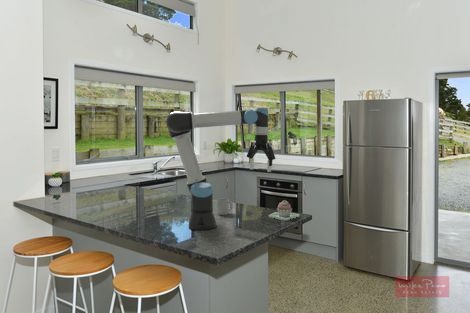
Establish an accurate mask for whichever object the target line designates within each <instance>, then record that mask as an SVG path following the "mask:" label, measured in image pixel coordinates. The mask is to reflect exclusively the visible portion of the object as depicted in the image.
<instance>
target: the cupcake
mask: <svg viewBox="0 0 470 313" xmlns="http://www.w3.org/2000/svg"><path fill="white" fill-rule="evenodd" d="M292 210H293V208H292V207H291V204H290V203H289V202H288V201H287V200H285V199H284V200H282V201H281V202H279V203H278V205H277V208H276V211H277V212H278V213H279V216H280V217H289V216H290V213H292Z"/></svg>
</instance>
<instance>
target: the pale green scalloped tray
mask: <svg viewBox="0 0 470 313" xmlns="http://www.w3.org/2000/svg"><path fill="white" fill-rule="evenodd" d="M296 217H297V218H299V217H300V214H298V213H295V212H294V213H293V212H291V213H290V216H289V217H280V216H279V213H278V211H275V212H272V213H271V214H270V213H269V214H268V218H270V219H274V218H275V219H276V220H280V221H285V222H288V221H290V219H291V220H294V219H297V218H296ZM293 218H294V219H293Z"/></svg>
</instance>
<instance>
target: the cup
mask: <svg viewBox="0 0 470 313" xmlns="http://www.w3.org/2000/svg"><path fill="white" fill-rule="evenodd" d="M233 209H234V204H233V201H231V200H229V198H218V199H216V213H217V215H220V216H226V215H229V213H230V212H231V211H233Z"/></svg>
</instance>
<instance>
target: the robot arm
mask: <svg viewBox="0 0 470 313" xmlns="http://www.w3.org/2000/svg"><path fill="white" fill-rule="evenodd" d="M165 125H166V128H167V129H168V133H169V135H170V139H172V140H174V142H175V144H176V148H177V151H178V154H179V157H180V160H181V162H182V166H183V169H184V172H185V174H186V178H187V181H186V186H187V190H188V192H189V193H188V194H189V196H190V199H191V200H190V201H191V203H190V204H191V205H190V206H191V207H190V208H191V214H190V217H189V221H188V228H189V229H191V230H194V231H195V230H196V231H207V230H213V229H215V228H216V227H217V220H216V217H215V215H214V208H213V207H214V206H213V205H214V202H213V195H214V194H213V192H214V189H213V185H212V184H211V183H209V182H208V181H207V177H206V176H204V175H203V174H202V170H201V167H200V164H199V162H198V159H197V155H196V153H195V149H194V146H193V143H192V140H191V137H190V135H191V133H192V131H193V130H194V129H199V128H200V129H201V128H211V127H225V126H236V125H237V126H239V125H254V134H255V135H254V141H252V142H251V143H250V147H249V149H248V152H247V153H246V157H247V158H248V159H249V160H248V164H249V170H254V169H255V168H254V167H255V158H254V157H255V156H256V154H257V153H258V152H259V151H263V153H264V154H265V156H266V158H267V165H266V166H267V167H266V171H267V172H268V173H269V172H272V166H273V160H276V156H275V153H274V150H273V147H272V143H271V142H268V138H269V135H268V133H269V109H268V108H267V107H256V108H255V110H254V109H245V110H242V109H241V110H231V111H215V112H203V113H202V112H198V113H193V112H192V111H187V112H186V111H179V110H178V111H173V112H170V113H169V114H168V116H167V117H166V121H165Z"/></svg>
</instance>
